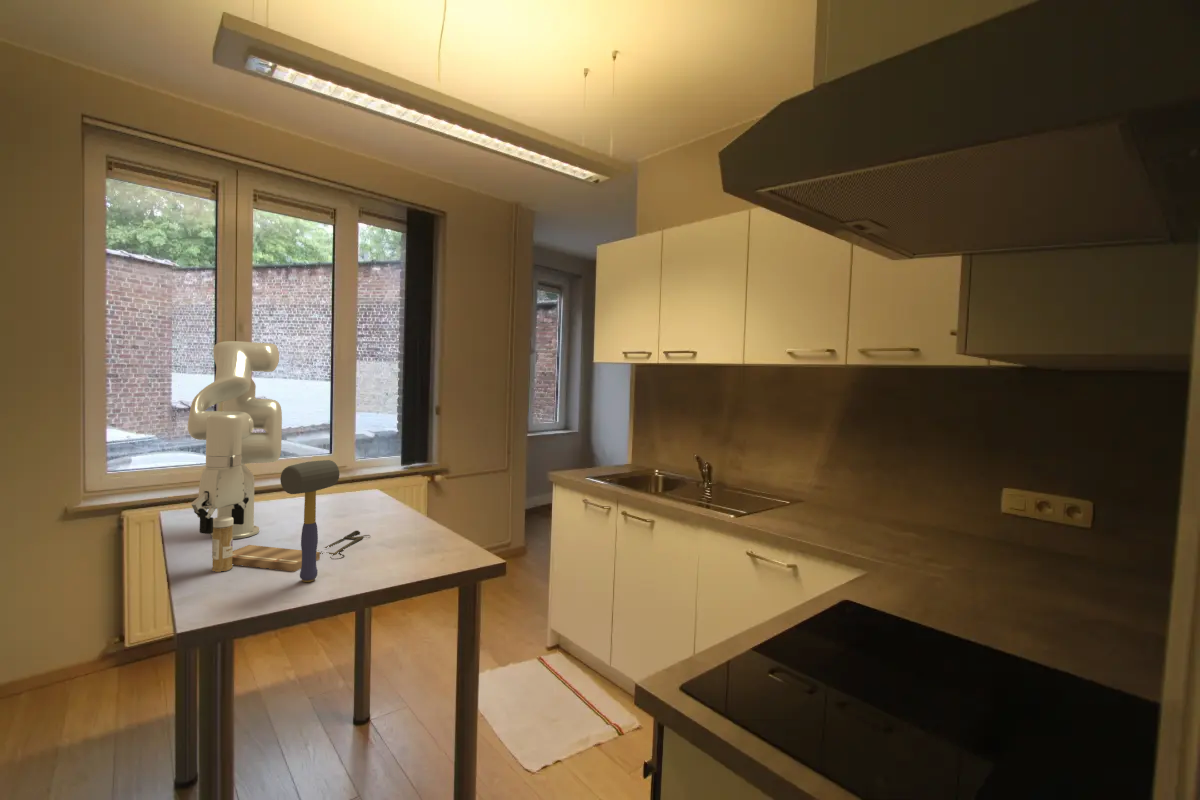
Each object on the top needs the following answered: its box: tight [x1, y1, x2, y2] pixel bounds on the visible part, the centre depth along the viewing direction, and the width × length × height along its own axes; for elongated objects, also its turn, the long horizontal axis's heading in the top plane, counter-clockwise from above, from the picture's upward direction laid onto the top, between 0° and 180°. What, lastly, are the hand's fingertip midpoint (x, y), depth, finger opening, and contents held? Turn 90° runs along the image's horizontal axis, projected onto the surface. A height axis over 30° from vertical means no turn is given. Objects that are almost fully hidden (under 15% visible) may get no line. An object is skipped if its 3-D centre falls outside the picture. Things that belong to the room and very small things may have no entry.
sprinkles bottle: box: [211, 516, 234, 573], centre depth 143 cm, size 5×5×13 cm
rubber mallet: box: [280, 459, 340, 583], centre depth 138 cm, size 12×8×30 cm, turn 159°
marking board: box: [232, 544, 321, 572], centre depth 151 cm, size 22×10×2 cm, turn 81°
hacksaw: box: [320, 530, 371, 560], centre depth 167 cm, size 24×10×2 cm, turn 172°
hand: (222, 528), depth 142 cm, fingers open, 9 cm apart
